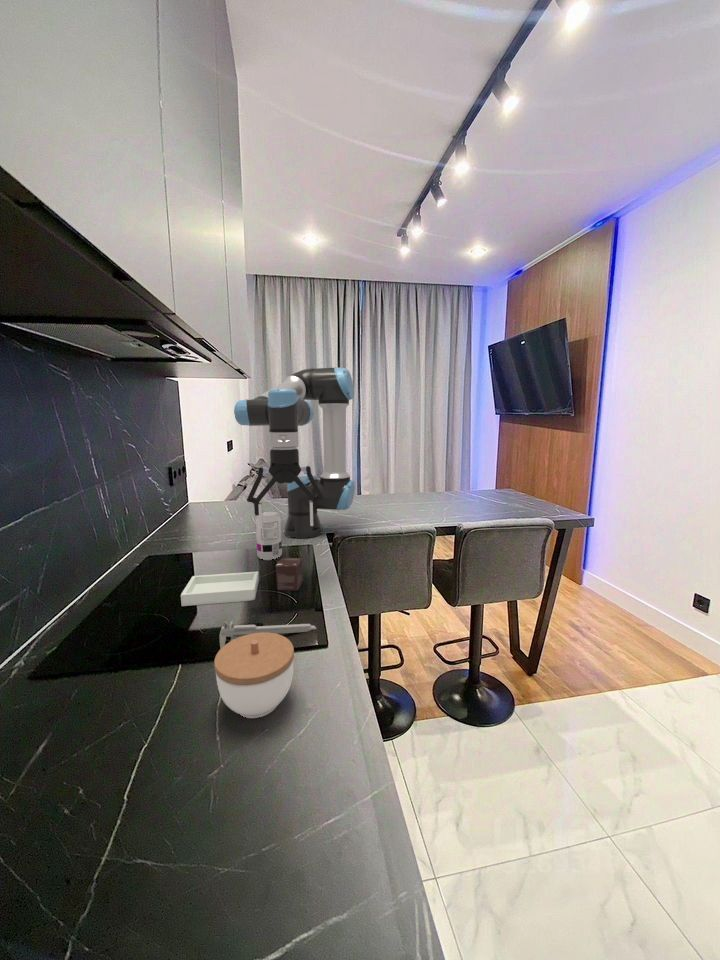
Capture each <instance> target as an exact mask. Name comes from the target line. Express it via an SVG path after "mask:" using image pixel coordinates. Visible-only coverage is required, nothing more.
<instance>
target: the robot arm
mask: <svg viewBox="0 0 720 960" xmlns="http://www.w3.org/2000/svg"><path fill="white" fill-rule="evenodd" d="M354 393H355V391H354V383H353V378H352V374H351V372H350V371H349V370H348V369H347V368H345V367H338V366H337V367H322V368H320V367H319V368H317V367H316V368H313V367H312V368H306V369H301V370H299V371H296V372H294V373H292V374H290V375H288V376H286V377H285V378H283V380H282V381H281V383H279V384H278V385H276V386H274V387H272V388H270V389H269V390H267V391H265V392H264V393H262V394H259V395H257V397H255V398H253V399H240V400H239V399H238V401H236V403H235V405H234V410H233V412H234V413H233V414H234V418H235V421H236V422H237V424H239V425H240V426H249V427H252V426H254V427H255V426H256V427H258V426H259V427H260V426H268V428H269V429H268V435H269V437H268V438H269V447H270V448H271V449H270V450H269V460H270V461H269V462H270V464H269V465H270V466H269V467H264V466H261V465H260V466H259V468H257V469H258V472H257V476H256V479H255V481H254V483H253V485H252V487H251V490H250V492H249V494H248V496H247V498H246V501H247V502H248V503H251V504H253V507H254V516H255V517H257V516H259V528H263V512H264V511H263V510H264V509H263V502H262V499H263V498H264V497H265V496H266V494H267V493H268V492H269V491H270V490H271V489H272V487H273V486H274V485H275V484H276V483H278V484H279V485H280V484H287V490H286V492H287V493H286V494H287V514H288V515H287V519H286V523H285V525H284V535H285V534H286V535H287V536H290V537H289V538H291V537H296V538H295V539H308V538H307V537H311V538H314V537H313V536H315V537H318V536H320V535H321V534H322V533H323V526H322V523H321V520H320V517H319V515H318V510H336V511H343V510H348V509H350V507H351V505H352V504H353V501H354V498H355V497H354V496H355V491H356V490H355V488H356V485H355V481H354V480H353V479H351V475H350V474H349V472H347V457H346V456H347V452H346V450H347V448H346V446H347V445H346V443H347V441H346V438H347V437H346V409H347V407H348V406H349V405H350V401H351V400H353V399H354ZM309 400H310V401H318V402H317V403H318V406H319V407H320V408H321V409H322V440H323V441H322V443H323V445H322V446H323V448H322V449H323V472H322V473H321V474H320V476H319V477H320V478H319V479H318V477H317V476H316V475H313V474H312V468H311V466H310V465H309V464H308V465H306V466H300V459H299V458H300V457H299V455H300V454H299V449H298V447H299V426H300V427H303V426H305V425H308V424H309V423H310V422H312V420H313V418H314V408H313V406H312V404H311V403H310V402H309ZM301 472H303V474H304V475H302V476H300V474H301ZM267 473H269V474H270V476H271V477H272V478H271V479H270V480H269V482H267V484H266V485H265V487H264V488H263V489H262V490H261V491H260V493H258V495H257V496H256V497H254V496H255V494H256V492H257V490H258V488H259V486H260V483H261V481H262V479H263V477H265V475H267ZM260 501H261V502H260ZM321 532H322V533H321ZM320 533H321V534H320ZM319 534H320V535H319ZM286 535H285V536H286ZM317 535H318V536H317ZM287 536H286V537H287Z"/></svg>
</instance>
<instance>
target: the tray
mask: <svg viewBox="0 0 720 960" xmlns="http://www.w3.org/2000/svg"><path fill="white" fill-rule="evenodd" d="M259 577H260V576H259V571H246V572H232V573H231V572H230V573H217V574H216V573H215V574H201V575H192V576H191V578H190V580H189V581H188V583H187V584H186V586H185V587H184V589H183V590H182V591H181V594H180V601H181V602H180V603H181V607H187V606H188V607H189V606H201V605H202V606H203V605H212V604H224V603H225V604H226V603H237V602H249V601H250V602H251V601H255V600H256V596H257V592H258V586H259V581H260V578H259Z"/></svg>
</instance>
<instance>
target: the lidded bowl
mask: <svg viewBox="0 0 720 960" xmlns="http://www.w3.org/2000/svg"><path fill="white" fill-rule="evenodd" d="M294 649H295V647H294V644H293V643H292V641H291V640H290V639H289V638H288V637H286V636H284V635H281V634H275V633H268V632H262V633H253V634H248V635H244V636H241V637H239V638H236V639H234V640H232V641H228V642H227V643H225V645H224V646H223V647H222V648H221V649H219V650H218V652H217V653H216V655H215V656H214V657H215V658H214V662H213V664H214V666H213V667H214V671H215V672H214V673H215V678H216V684H217V689H218V692H219V695H220V697H221V699H222V701H223V703H224V704H225V705H226V707H228V708H229V709H230V710H231V711H232V712H234V713H236V714H238V715H239V714H240V715H241V716H240V715H239V716H240V717H242V716H243V717H242V718H245V717H246V719H259V717H260V718H264V717H265V716H268V715H269V714H271V713H272V712H273V711H275V710H276V708H277V707H278V706H279V704H280V703H281V702H282V701H284V699H285V698H286V696H287V694H288V693H289V691H290V688H291V685H292V681H293V676H294V658H295V650H294Z"/></svg>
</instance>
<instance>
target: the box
mask: <svg viewBox="0 0 720 960" xmlns="http://www.w3.org/2000/svg"><path fill="white" fill-rule="evenodd" d="M275 576H276V577H275V580H276V590H277V591H299V589H300V587H301V586H302V583H303V582H304V581H303V579H304V577H303V559H302V558H301V557H300V558H299V557H298V558H297V557H281V559H279V561H278V562H277V564H276V565H275Z"/></svg>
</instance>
